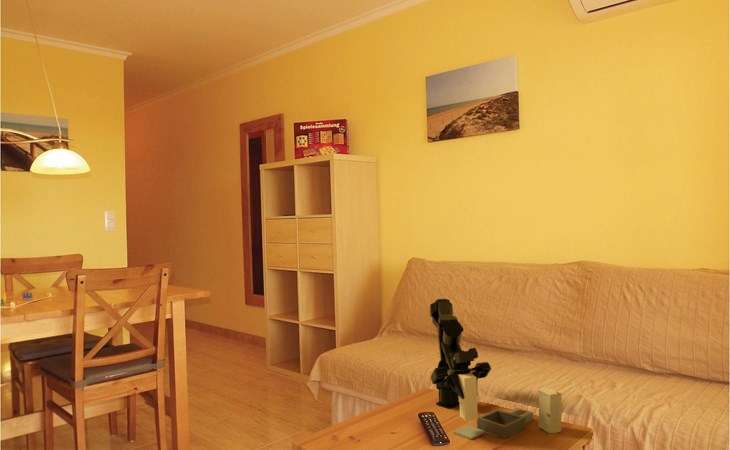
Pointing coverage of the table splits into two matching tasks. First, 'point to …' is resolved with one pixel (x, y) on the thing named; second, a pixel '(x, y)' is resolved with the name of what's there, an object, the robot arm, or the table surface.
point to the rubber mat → (469, 432)
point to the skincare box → (550, 410)
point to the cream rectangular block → (468, 397)
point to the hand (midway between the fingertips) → (470, 397)
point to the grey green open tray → (512, 419)
